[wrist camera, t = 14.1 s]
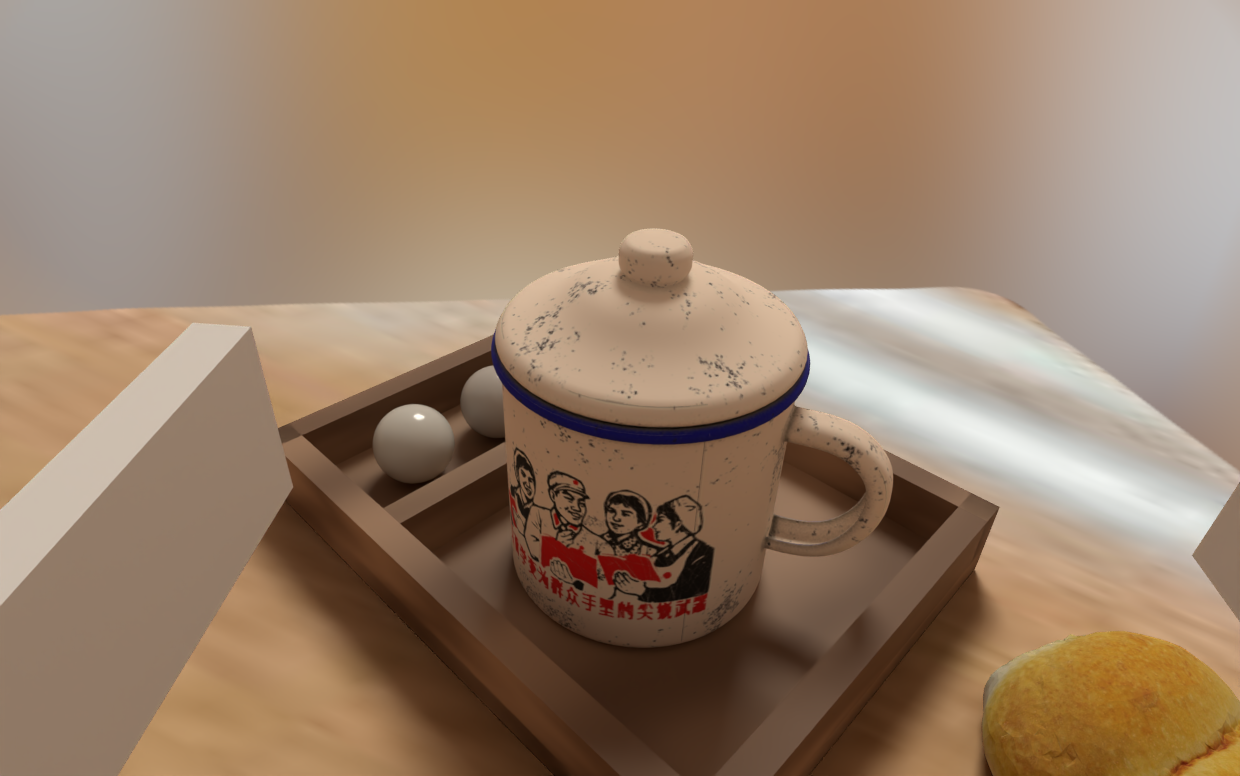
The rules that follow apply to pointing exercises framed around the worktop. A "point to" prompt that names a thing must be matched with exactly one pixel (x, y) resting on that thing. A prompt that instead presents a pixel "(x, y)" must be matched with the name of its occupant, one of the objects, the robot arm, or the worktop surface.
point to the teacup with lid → (660, 442)
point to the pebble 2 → (484, 403)
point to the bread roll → (1110, 711)
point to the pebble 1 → (413, 443)
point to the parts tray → (628, 676)
